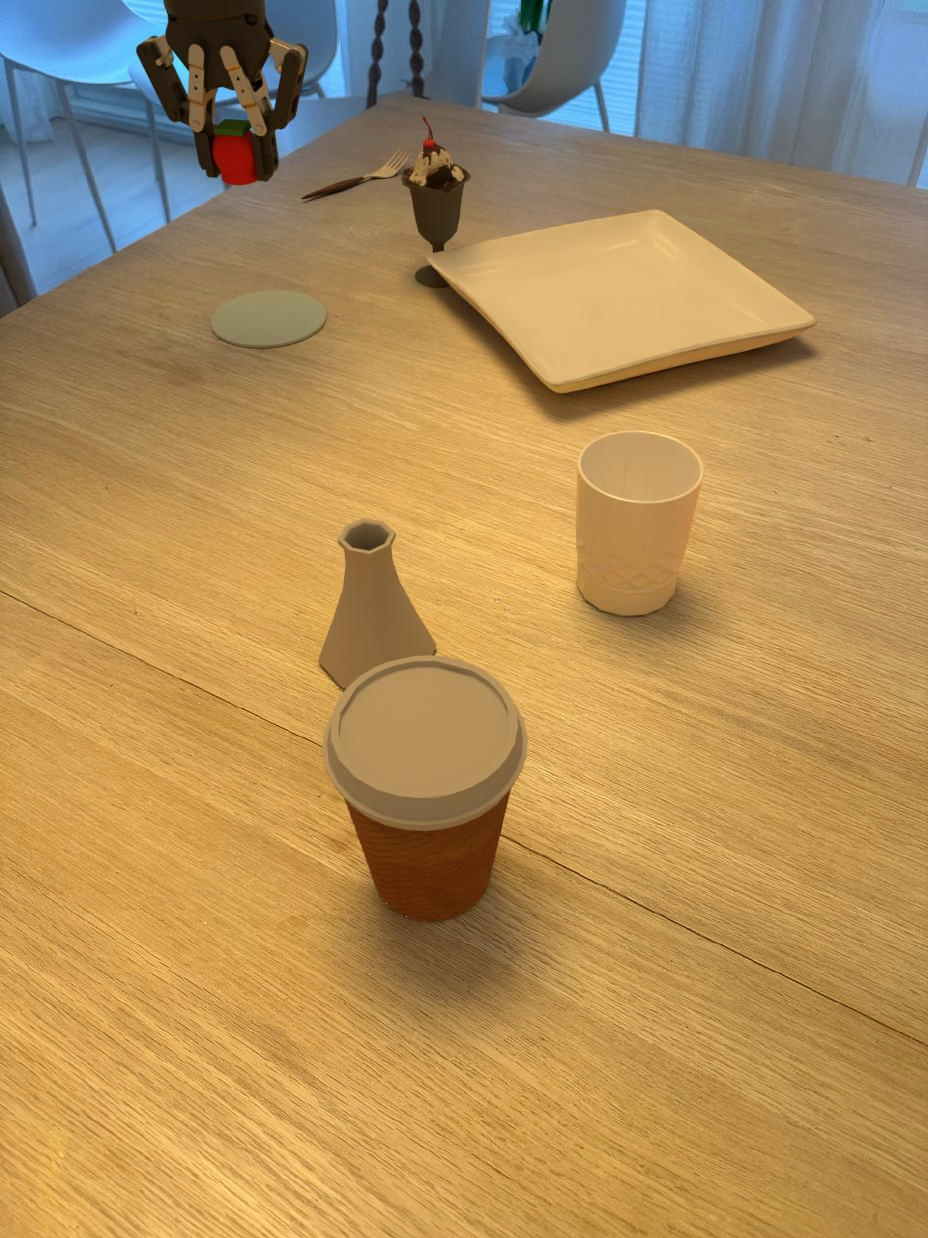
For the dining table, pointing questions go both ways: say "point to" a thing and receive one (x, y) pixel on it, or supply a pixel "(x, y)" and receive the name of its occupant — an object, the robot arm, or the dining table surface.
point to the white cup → (634, 518)
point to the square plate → (617, 298)
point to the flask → (371, 608)
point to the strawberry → (234, 152)
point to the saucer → (268, 319)
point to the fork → (363, 177)
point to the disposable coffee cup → (426, 778)
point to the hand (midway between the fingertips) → (241, 175)
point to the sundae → (435, 200)
